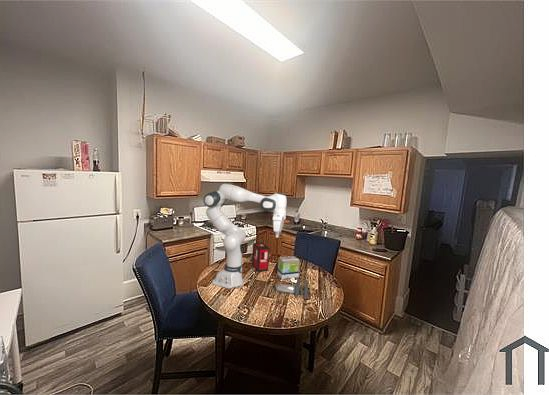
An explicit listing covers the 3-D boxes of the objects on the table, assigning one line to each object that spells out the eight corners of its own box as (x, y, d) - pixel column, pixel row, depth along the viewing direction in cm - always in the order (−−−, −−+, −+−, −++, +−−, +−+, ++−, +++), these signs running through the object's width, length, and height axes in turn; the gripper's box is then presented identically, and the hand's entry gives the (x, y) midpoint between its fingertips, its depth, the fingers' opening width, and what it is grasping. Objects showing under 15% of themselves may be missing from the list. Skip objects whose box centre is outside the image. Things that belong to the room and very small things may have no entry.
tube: (275, 292, 157) (275, 286, 155) (277, 287, 162) (277, 281, 160) (301, 296, 154) (301, 290, 152) (301, 291, 159) (302, 285, 157)
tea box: (282, 279, 176) (283, 261, 174) (277, 274, 185) (278, 257, 183) (298, 277, 181) (300, 259, 180) (293, 272, 191) (294, 255, 189)
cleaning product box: (268, 270, 190) (269, 248, 188) (258, 272, 186) (259, 249, 184) (261, 263, 205) (262, 242, 203) (251, 264, 201) (253, 243, 199)
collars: (295, 296, 152) (296, 284, 151) (296, 289, 162) (297, 277, 161) (310, 299, 150) (311, 286, 149) (311, 291, 160) (312, 279, 159)
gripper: (277, 213, 166) (276, 231, 167) (272, 218, 146) (271, 238, 147) (286, 214, 165) (285, 232, 166) (281, 219, 145) (280, 239, 146)
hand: (278, 235), depth 156 cm, fingers open, 8 cm apart
